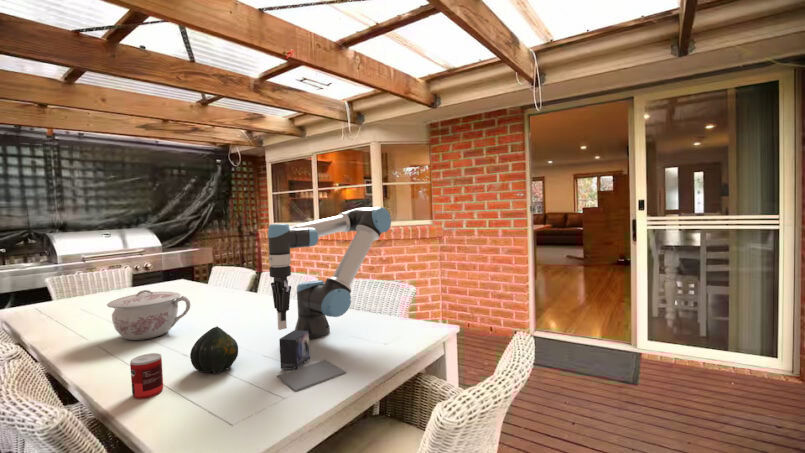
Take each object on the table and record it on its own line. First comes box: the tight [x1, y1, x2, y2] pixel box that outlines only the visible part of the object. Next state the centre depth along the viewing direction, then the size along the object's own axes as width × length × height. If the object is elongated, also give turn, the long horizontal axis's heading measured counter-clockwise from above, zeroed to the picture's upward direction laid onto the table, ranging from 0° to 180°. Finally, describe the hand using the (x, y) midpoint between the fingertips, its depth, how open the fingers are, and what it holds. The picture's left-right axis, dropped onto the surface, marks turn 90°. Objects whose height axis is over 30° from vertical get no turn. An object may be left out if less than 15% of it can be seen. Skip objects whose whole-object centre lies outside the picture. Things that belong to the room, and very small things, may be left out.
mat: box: [276, 359, 347, 392], centre depth 123 cm, size 14×18×1 cm
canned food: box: [129, 352, 164, 400], centre depth 113 cm, size 8×8×11 cm
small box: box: [278, 329, 311, 370], centre depth 131 cm, size 11×6×10 cm, turn 168°
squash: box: [189, 325, 239, 374], centre depth 130 cm, size 14×15×15 cm
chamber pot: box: [106, 289, 192, 341], centre depth 168 cm, size 28×28×21 cm
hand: (282, 328), depth 138 cm, fingers closed
